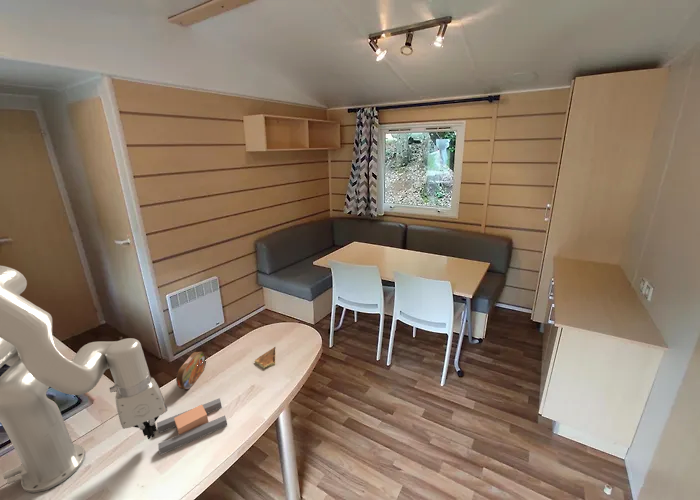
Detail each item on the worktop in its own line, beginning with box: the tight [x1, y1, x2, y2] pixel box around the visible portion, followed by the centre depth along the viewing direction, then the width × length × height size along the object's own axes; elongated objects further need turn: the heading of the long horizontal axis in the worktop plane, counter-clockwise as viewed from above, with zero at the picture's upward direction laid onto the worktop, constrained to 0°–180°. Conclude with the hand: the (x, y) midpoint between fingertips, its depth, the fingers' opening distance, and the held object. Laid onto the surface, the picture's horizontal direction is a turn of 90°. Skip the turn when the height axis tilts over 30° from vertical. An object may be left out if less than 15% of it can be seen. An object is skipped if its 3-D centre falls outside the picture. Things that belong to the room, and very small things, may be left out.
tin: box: [175, 351, 207, 390], centre depth 115 cm, size 15×3×8 cm, turn 175°
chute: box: [156, 397, 228, 456], centre depth 97 cm, size 18×10×2 cm, turn 122°
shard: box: [253, 346, 276, 369], centre depth 127 cm, size 11×8×2 cm
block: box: [174, 404, 209, 435], centre depth 97 cm, size 8×5×4 cm, turn 130°
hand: (151, 434), depth 91 cm, fingers closed
